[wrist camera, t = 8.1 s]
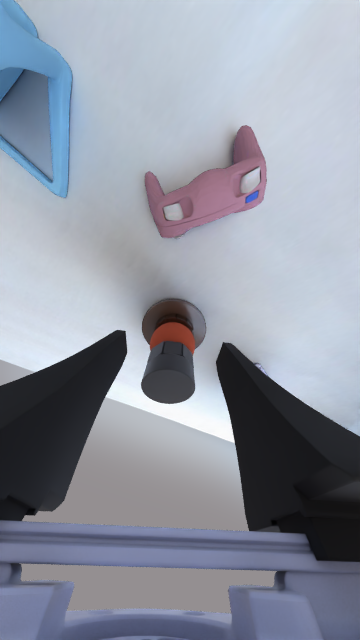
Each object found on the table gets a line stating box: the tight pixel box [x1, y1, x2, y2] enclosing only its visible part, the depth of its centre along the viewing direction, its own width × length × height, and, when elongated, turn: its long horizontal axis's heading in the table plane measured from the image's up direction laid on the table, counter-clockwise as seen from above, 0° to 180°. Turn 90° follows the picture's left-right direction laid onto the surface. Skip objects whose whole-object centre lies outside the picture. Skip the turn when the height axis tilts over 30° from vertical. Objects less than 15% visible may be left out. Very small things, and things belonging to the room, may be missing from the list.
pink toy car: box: [145, 125, 267, 239], centre depth 12 cm, size 10×5×7 cm, turn 108°
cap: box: [141, 341, 195, 404], centre depth 14 cm, size 5×5×4 cm
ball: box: [150, 322, 195, 355], centre depth 18 cm, size 6×6×6 cm
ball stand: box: [142, 299, 206, 349], centre depth 21 cm, size 10×10×2 cm
